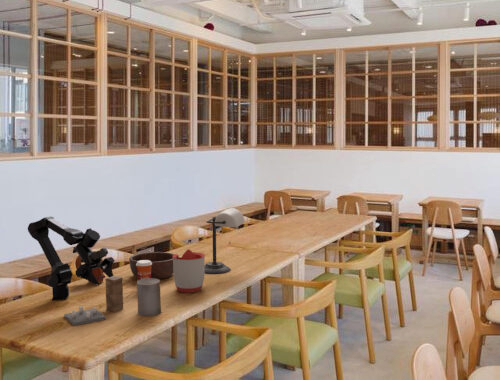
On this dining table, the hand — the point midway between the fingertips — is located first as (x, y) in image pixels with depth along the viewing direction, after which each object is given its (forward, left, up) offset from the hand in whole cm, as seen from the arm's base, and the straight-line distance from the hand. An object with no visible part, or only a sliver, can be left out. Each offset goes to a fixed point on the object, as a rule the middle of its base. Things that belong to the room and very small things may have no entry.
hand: (105, 281), depth 246 cm
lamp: (+54, +59, -12) cm, 81 cm away
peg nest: (-7, -13, -12) cm, 19 cm away
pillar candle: (+19, -9, -12) cm, 24 cm away
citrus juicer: (+36, +24, -12) cm, 45 cm away
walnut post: (+4, -3, -12) cm, 13 cm away
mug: (-13, +43, -12) cm, 46 cm away
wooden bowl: (+18, +53, -12) cm, 57 cm away
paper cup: (+15, +26, -12) cm, 32 cm away
